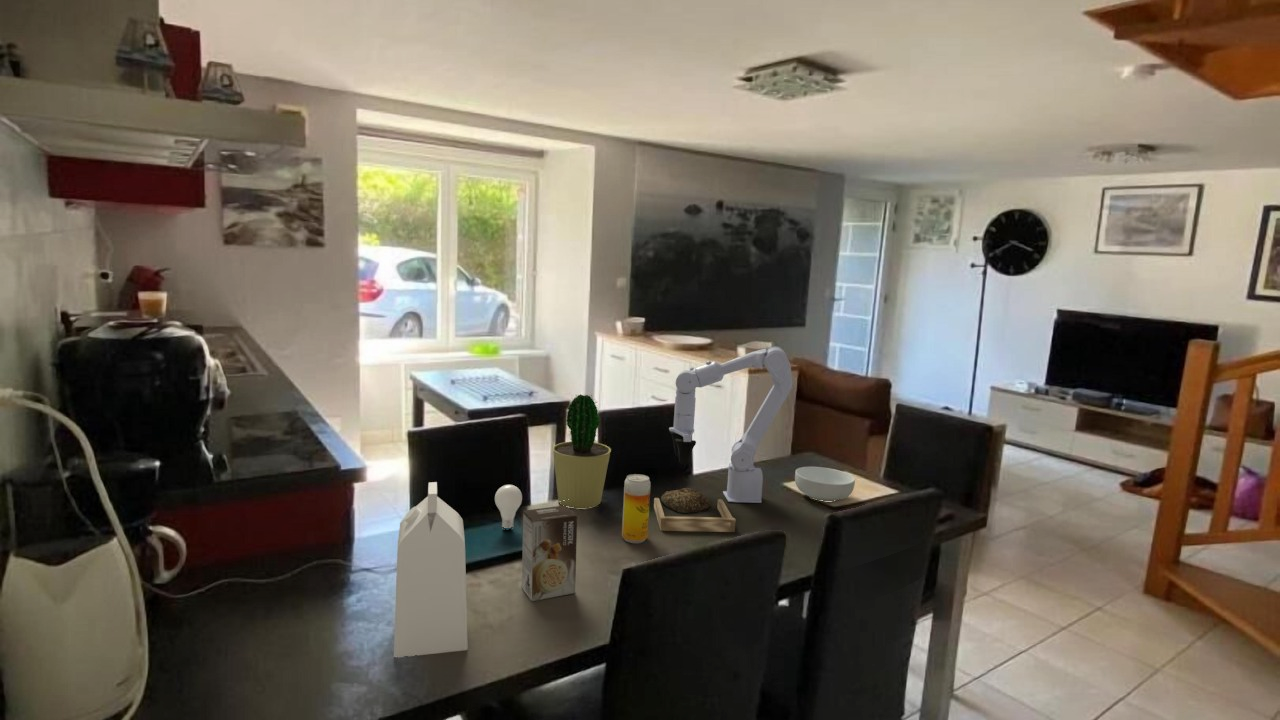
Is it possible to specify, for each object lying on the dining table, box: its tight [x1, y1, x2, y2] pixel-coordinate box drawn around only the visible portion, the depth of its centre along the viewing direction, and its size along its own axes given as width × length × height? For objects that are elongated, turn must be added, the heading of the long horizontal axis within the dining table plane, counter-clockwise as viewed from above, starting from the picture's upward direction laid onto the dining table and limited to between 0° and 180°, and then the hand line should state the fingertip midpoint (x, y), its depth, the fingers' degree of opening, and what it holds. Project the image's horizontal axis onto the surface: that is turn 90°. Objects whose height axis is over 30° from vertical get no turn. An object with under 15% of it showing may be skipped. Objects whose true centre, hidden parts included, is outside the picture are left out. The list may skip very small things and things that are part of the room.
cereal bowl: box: [794, 466, 856, 501], centre depth 198 cm, size 17×17×7 cm
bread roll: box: [660, 487, 711, 514], centre depth 187 cm, size 13×12×5 cm
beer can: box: [621, 473, 652, 544], centre depth 161 cm, size 6×6×15 cm
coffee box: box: [521, 505, 578, 602], centre depth 134 cm, size 9×6×16 cm
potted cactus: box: [552, 394, 612, 508], centre depth 183 cm, size 15×15×30 cm
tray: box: [653, 497, 737, 533], centre depth 177 cm, size 18×16×3 cm
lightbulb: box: [494, 484, 523, 528], centre depth 163 cm, size 6×6×11 cm
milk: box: [393, 481, 469, 659], centre depth 116 cm, size 12×12×26 cm
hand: (681, 459), depth 196 cm, fingers open, 7 cm apart
